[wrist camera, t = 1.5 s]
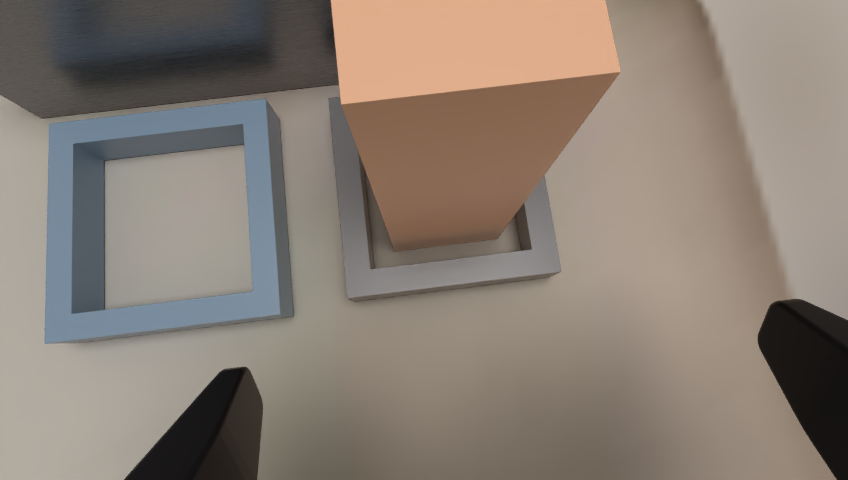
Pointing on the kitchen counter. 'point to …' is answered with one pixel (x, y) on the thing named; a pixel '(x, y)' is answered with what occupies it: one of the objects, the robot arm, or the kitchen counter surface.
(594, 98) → the plug
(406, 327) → the kitchen counter surface
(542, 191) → the grey square frame
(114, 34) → the panel
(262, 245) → the slate-blue socket
